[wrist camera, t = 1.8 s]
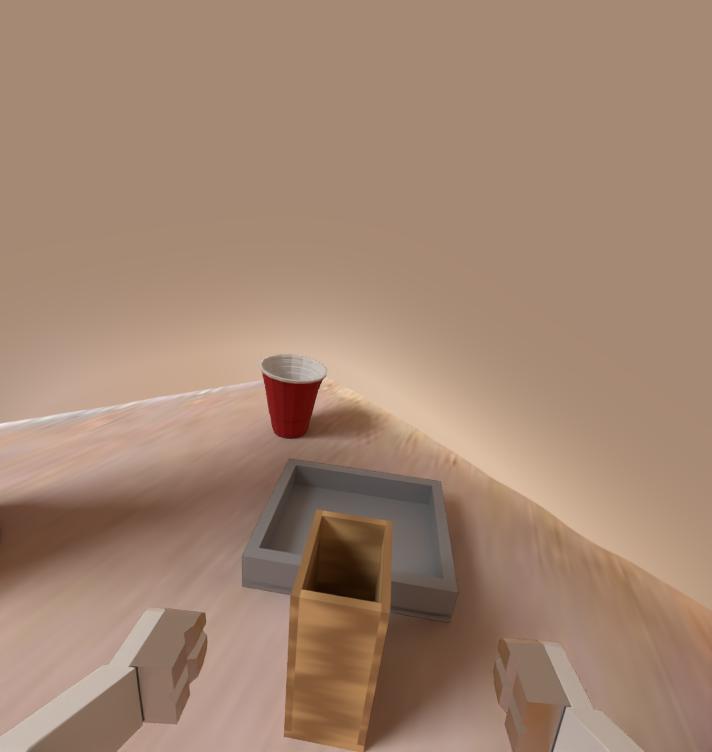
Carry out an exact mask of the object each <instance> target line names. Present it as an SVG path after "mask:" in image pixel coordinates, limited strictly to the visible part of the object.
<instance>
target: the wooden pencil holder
mask: <svg viewBox="0 0 712 752" xmlns="http://www.w3.org/2000/svg"><path fill="white" fill-rule="evenodd" d="M392 531H393V522H392V521H386V520H380V519H373V518H367V517H361V516H355V515H348V514H342V513H336V512H329V511H323V510H316V513H315V517H314V520H313V523H312V527H311V530H310V533H309V537H308V540H307V543H306V547H305V550H304V553H303V557H302V560H301V563H300V567H299V570H298V573H297V577H296V580H295V583H294V587H293V590H292V593H291V600H290V621H289V642H288V662H287V683H286V704H285V725H284V737H289V738H294V739H298V740H303V741H308V742H313V743H318V744H323V745H328V746H333V747H338V748H343V749H348V750H353V751H358V752H363V751H364V746H365V741H366V735H367V730H368V725H369V720H370V715H371V710H372V704H373V699H374V694H375V689H376V684H377V679H378V673H379V668H380V663H381V658H382V653H383V648H384V642H385V637H386V632H387V627H388V622H389V617H390V600H391V566H392Z"/></svg>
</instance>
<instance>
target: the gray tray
mask: <svg viewBox="0 0 712 752" xmlns="http://www.w3.org/2000/svg"><path fill="white" fill-rule="evenodd" d="M316 510H323V511H329V512H336V513H342V514H348V515H355V516H361V517H367V518H373V519H380V520H386V521H392V522H393V531H392V566H391V600H390V612H391V613H397V614H402V615H408V616H414V617H419V618H425V619H431V620H436V621H442V622H448V623H450V620H451V616H452V613H453V609H454V606H455V602H456V599H457V595H458V588H457V581H456V575H455V569H454V562H453V556H452V549H451V543H450V537H449V530H448V524H447V517H446V511H445V505H444V498H443V492H442V486H441V481H435V480H429V479H422V478H415V477H409V476H402V475H396V474H389V473H382V472H376V471H369V470H363V469H356V468H349V467H343V466H336V465H329V464H323V463H316V462H310V461H303V460H296V459H290V458H289V460H288V462H287V464H286V466H285V468H284V470H283V472H282V474H281V476H280V478H279V480H278V482H277V485H276V487H275V489H274V491H273V493H272V495H271V497H270V499H269V501H268V503H267V505H266V507H265V509H264V511H263V513H262V515H261V517H260V519H259V522H258V524H257V526H256V528H255V530H254V532H253V534H252V536H251V538H250V540H249V542H248V544H247V546H246V548H245V550H244V552H243V554H242V586H243V587H249V588H254V589H260V590H266V591H271V592H277V593H283V594H289V595H291V593H292V590H293V587H294V583H295V580H296V577H297V573H298V570H299V567H300V563H301V560H302V557H303V553H304V550H305V547H306V543H307V540H308V537H309V533H310V530H311V527H312V523H313V520H314V517H315V513H316Z"/></svg>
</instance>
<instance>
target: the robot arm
mask: <svg viewBox="0 0 712 752" xmlns="http://www.w3.org/2000/svg"><path fill="white" fill-rule="evenodd" d="M205 624H206V616H205V613H202V612H194V611H185V610H177V609H167V608H157V607H150V608H149V609H147V610H146V611H145V612H144V614H143V615H142V616H141V618H140V619H139V621H138V622H137V624H136V625H135V627H134V628H133V630H132V631H131V633H130V634H129V636H128V637H127V639H126V640H125V642H124V643H123V645H122V646H121V647H120V649H119V650H118V652H117V653H116V655H115V656H114V658H113V659H112V661H111V662H110V664H109V665H102V666H100V667H99V668H98V669H96V670H95V671H93V672H92V673H90V674H89V675H88V676H86V677H85V678H83V679H82V680H80V681H79V682H78V683H76V684H75V685H73V686H72V687H70V688H69V689H68V690H66V691H65V692H63V693H62V694H60V695H59V696H58V697H56V698H55V699H53V700H52V701H50V702H49V703H47V704H46V705H45V706H43V707H42V708H40V709H39V710H37V711H36V712H35V713H33V714H32V715H30V716H29V717H27V718H26V719H25V720H23V721H22V722H20V723H19V724H17V725H16V726H15V727H13V728H12V729H10V730H9V731H7V732H6V733H5V734H3V735H2V736H0V752H116V751H117V750H118V749H119V748H120V747H121V746H122V745H123V744H124V743H125V742H126V741H127V740H128V739H129V738H130V737H131V736H132V735H133V734H134V733H135V732H136V731H137V730H138V729H139V728H140V727H141V726H142V725H143V722H146V723H163V724H177V723H178V721H179V719H180V716H181V714H182V712H183V710H184V707H185V705H186V703H187V700H188V698H189V696H190V690H189V684H190V683H191V682H192V681H193V680H195V679H196V678H197V677H198V675H199V673H200V670H201V668H202V666H203V662H204V659H205V655H206V650H207V635H206V634H205V632H204V631H203V628H204V626H205ZM498 650H499V653H500V657H499V658H498V659H497V660H495V665H494V686H495V691H496V695H497V699H498V703H499V705H500V706H501V707H502V708H503V710H504V711H505V712H506V713H507V716H506V721H505V727H506V730H507V734H508V737H509V740H510V744H511V747H512V750H513V752H645V751H644V750H643V749H642V748H641V747H639V746H638V745H637V744H636V743H635V742H634V741H633V740H632V739H631V738H630V737H629V736H628V735H627V734H626V733H625V732H624V731H622V730H621V729H620V728H619V727H618V726H617V725H616V724H615V723H614V722H613V721H612V720H611V719H610V718H609V717H608V716H606V715H605V714H604V713H603V712H602V711H601V710H596V709H594V707H593V705H592V703H591V701H590V699H589V697H588V695H587V693H586V691H585V690H584V688H583V686H582V684H581V682H580V680H579V678H578V676H577V674H576V672H575V670H574V668H573V666H572V664H571V662H570V660H569V658H568V656H567V654H566V652H565V650H564V649H563V647H562V645H561V644H560V643H559V642H547V641H537V640H526V639H512V638H501V640H500V641H499V645H498Z"/></svg>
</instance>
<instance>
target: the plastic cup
mask: <svg viewBox="0 0 712 752" xmlns="http://www.w3.org/2000/svg"><path fill="white" fill-rule="evenodd" d="M259 367H260V369H261V371H262V374H263V378H264V384H265V389H266V395H267V401H268V408H269V413H270V417H271V423H272V428H273V430H274V433H275V434H276V435H278V436H280V437H283V438H298V437H300V436H303V435H304V434H305V433H306V432H307V429H308V426H309V421H310V417H311V415H312V412H313V408H314V404H315V400H316V396H317V393H318V389H319V387H320V384H321V383H322V380H323V379H324V378H325V377H326V375H327V368H326V367H325V366H324V365H323V364H322V363H320V362H318V361H316V360H313V359H311V358H308V357H304V356H298V355H292V354H291V355H290V354H278V355H272V356H268V357H266V358H264V359H262V360H261V361H260V363H259Z"/></svg>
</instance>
